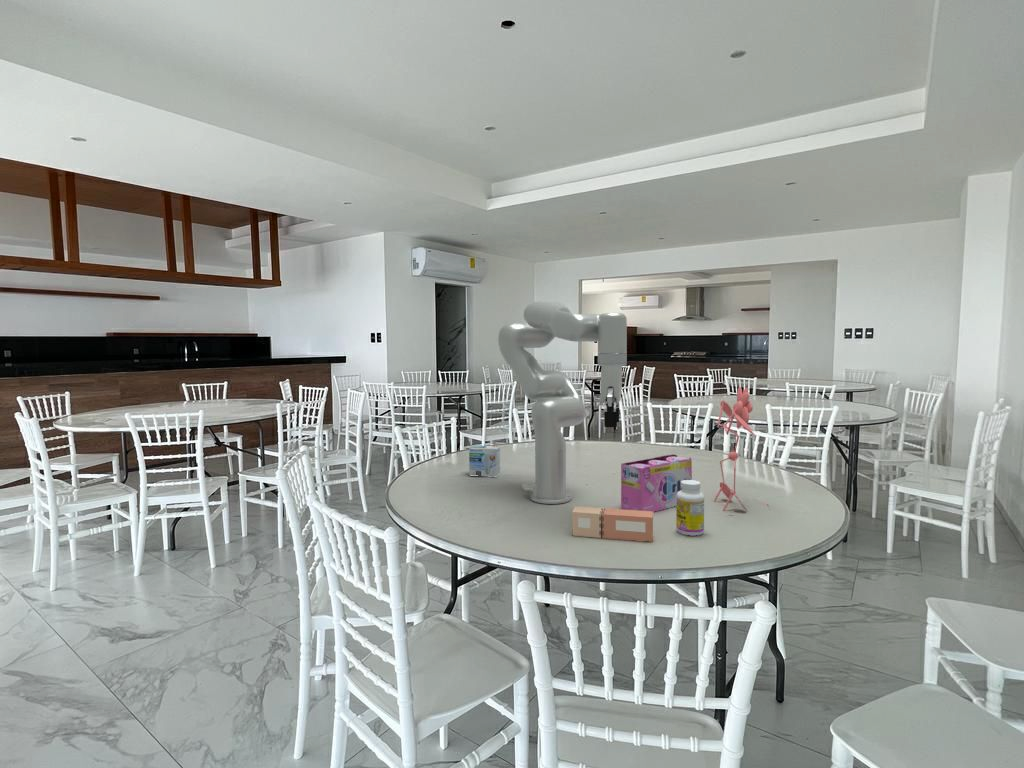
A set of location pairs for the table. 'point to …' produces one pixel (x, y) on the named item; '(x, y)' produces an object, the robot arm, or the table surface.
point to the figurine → (742, 418)
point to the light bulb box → (484, 460)
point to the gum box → (653, 482)
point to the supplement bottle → (690, 509)
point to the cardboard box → (627, 524)
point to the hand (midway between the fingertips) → (612, 424)
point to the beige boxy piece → (587, 521)
